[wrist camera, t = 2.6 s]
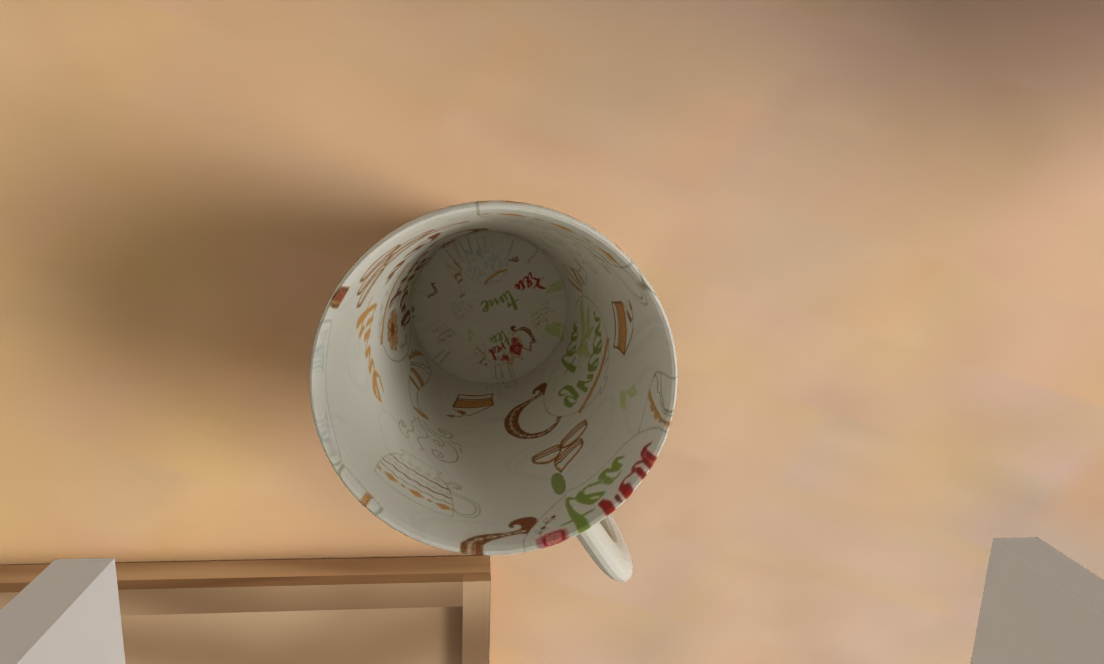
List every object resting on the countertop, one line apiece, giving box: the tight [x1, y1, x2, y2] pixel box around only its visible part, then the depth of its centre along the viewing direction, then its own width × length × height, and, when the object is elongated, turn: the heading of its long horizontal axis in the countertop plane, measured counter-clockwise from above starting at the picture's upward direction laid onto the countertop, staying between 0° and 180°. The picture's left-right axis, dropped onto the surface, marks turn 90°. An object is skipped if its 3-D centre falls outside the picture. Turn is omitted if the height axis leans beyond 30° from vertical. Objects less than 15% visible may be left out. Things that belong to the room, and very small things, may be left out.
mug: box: [310, 201, 678, 582], centre depth 22 cm, size 8×13×10 cm, turn 31°
